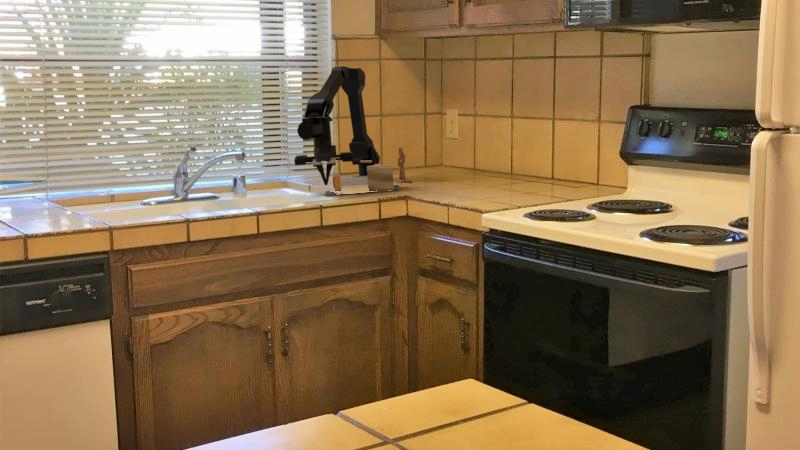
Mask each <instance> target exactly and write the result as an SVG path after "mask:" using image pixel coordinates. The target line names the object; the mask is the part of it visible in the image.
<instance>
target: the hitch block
mask: <svg viewBox="0 0 800 450" xmlns="http://www.w3.org/2000/svg"><path fill="white" fill-rule="evenodd" d="M367 175H368V186H367V187H368V188H369V191H376V190H390V189H394V185H395V184H394V173H393V166H392V164H391V163H389V164H374V166H367Z"/></svg>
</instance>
